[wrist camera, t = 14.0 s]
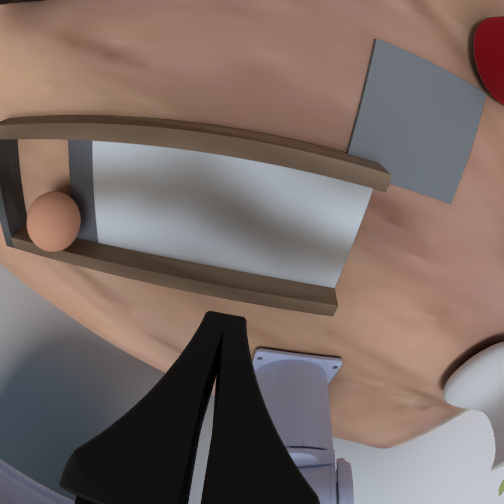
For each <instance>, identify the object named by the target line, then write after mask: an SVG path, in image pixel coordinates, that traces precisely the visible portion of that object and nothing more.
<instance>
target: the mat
mask: <svg viewBox="0 0 504 504" xmlns="http://www.w3.org/2000/svg"><path fill="white" fill-rule="evenodd" d="M485 98H486V94H485V93H484V92H482V91H481V90H479V89H478V88H476V87H474V86H473V85H471V84H469V83H468V82H466V81H464V80H463V79H461V78H459V77H458V76H456V75H454V74H452V73H450V72H449V71H447V70H445V69H443V68H441V67H439V66H437V65H435V64H433V63H431V62H429V61H427V60H425V59H423V58H421V57H419V56H417V55H415V54H412V53H410V52H408V51H406V50H403V49H401V48H399V47H396V46H394V45H391V44H389V43H386V42H384V41H381V40H378V39H375V40H374V45H373V50H372V54H371V59H370V63H369V68H368V72H367V76H366V81H365V85H364V89H363V93H362V97H361V101H360V105H359V109H358V113H357V117H356V120H355V124H354V128H353V132H352V135H351V139H350V143H349V146H348V150H347V154H350V155H353V156H357V157H360V158H364V159H367V160H370V161H374V162H377V163H380V164H381V165H382V166H383V167H384V168H385V169H386V170H387V171H388V172H389V173H390V174H391V175H392V176H391V179H390V182H389V183H390V184H393V185H396V186H399V187H403V188H406V189H409V190H412V191H415V192H418V193H421V194H424V195H427V196H429V197H432V198H435V199H438V200H441V201H443V202H446V203H449V204H451V202H452V200H453V197H454V195H455V192H456V190H457V187H458V185H459V182H460V180H461V177H462V174H463V171H464V169H465V166H466V163H467V160H468V157H469V154H470V151H471V148H472V145H473V142H474V139H475V135H476V132H477V129H478V125H479V121H480V118H481V114H482V110H483V106H484V102H485Z"/></svg>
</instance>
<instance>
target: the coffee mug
mask: <svg viewBox="0 0 504 504" xmlns="http://www.w3.org/2000/svg"><path fill="white" fill-rule="evenodd" d="M32 1H42V0H0V5H1V4H9V3H19V2H32Z"/></svg>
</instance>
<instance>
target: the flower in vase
mask: <svg viewBox="0 0 504 504" xmlns="http://www.w3.org/2000/svg"><path fill="white" fill-rule="evenodd" d="M443 398H444V399H445V400H446V401H447V403H449V404H451V405H453V406H456V407H461V408H466V409H473V410H479V411H482V412H484V413H485V414H486V415H487V416H488V418H489V420H490V422H491V425H492V428H493V432H494V437H495V445H496V453H495V459H494V463H493V466H492V468H491V471H493V470H495V469H497V468H499V467H501V466H503V465H504V342H500V343H497V344H495V345H492V346H490V347H488V348H486V349H484V350H482V351H481V352H479V353H477V354H476V355H474V356H473V357H471V358H470V359H469V360H467V361H466V362H465V363H464V364H463V365H461V366H460V367H459V368H458V369H457V370H456V371H455V372H454V373H453V374H452V375H451V376H450V378H449V379H448V380H447V382H446V384H445V386H444V390H443ZM503 491H504V480H503V482H502V483H501V485H500V488H499V496H500V495H501V494H502V493H503Z"/></svg>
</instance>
